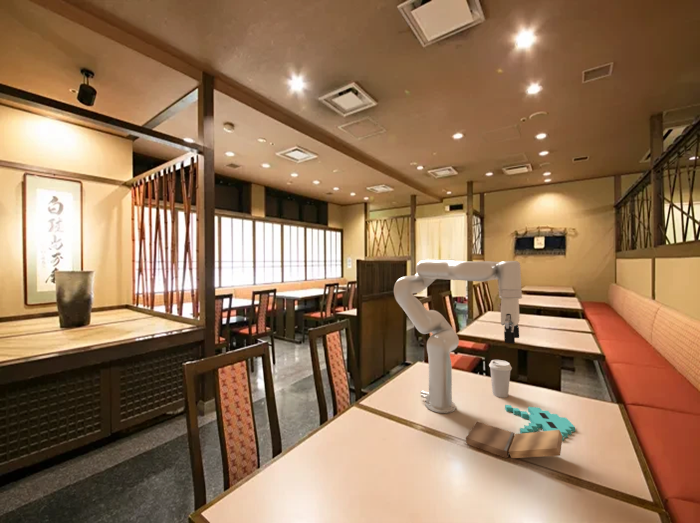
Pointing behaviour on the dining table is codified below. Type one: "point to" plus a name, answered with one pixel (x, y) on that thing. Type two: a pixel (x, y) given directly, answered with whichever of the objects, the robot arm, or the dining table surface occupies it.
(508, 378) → the coffee cup
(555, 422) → the alien figure
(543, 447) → the oak plank
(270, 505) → the dining table surface
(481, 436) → the walnut board
